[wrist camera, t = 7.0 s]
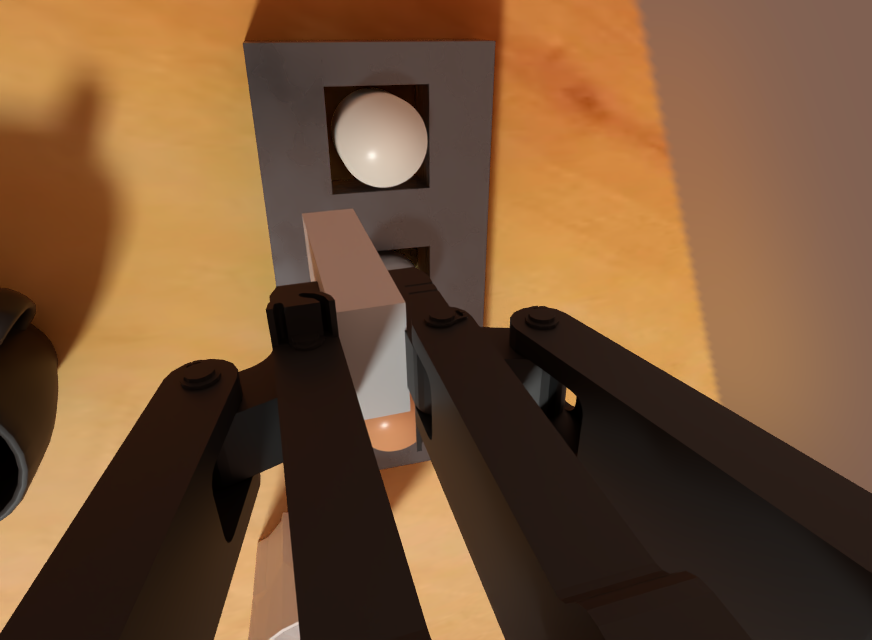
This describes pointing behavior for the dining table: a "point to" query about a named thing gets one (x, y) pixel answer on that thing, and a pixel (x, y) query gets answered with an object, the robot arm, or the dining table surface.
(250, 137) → the dining table surface
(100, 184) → the dining table surface
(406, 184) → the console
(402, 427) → the button orange
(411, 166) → the button cream
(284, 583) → the cup
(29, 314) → the mug
